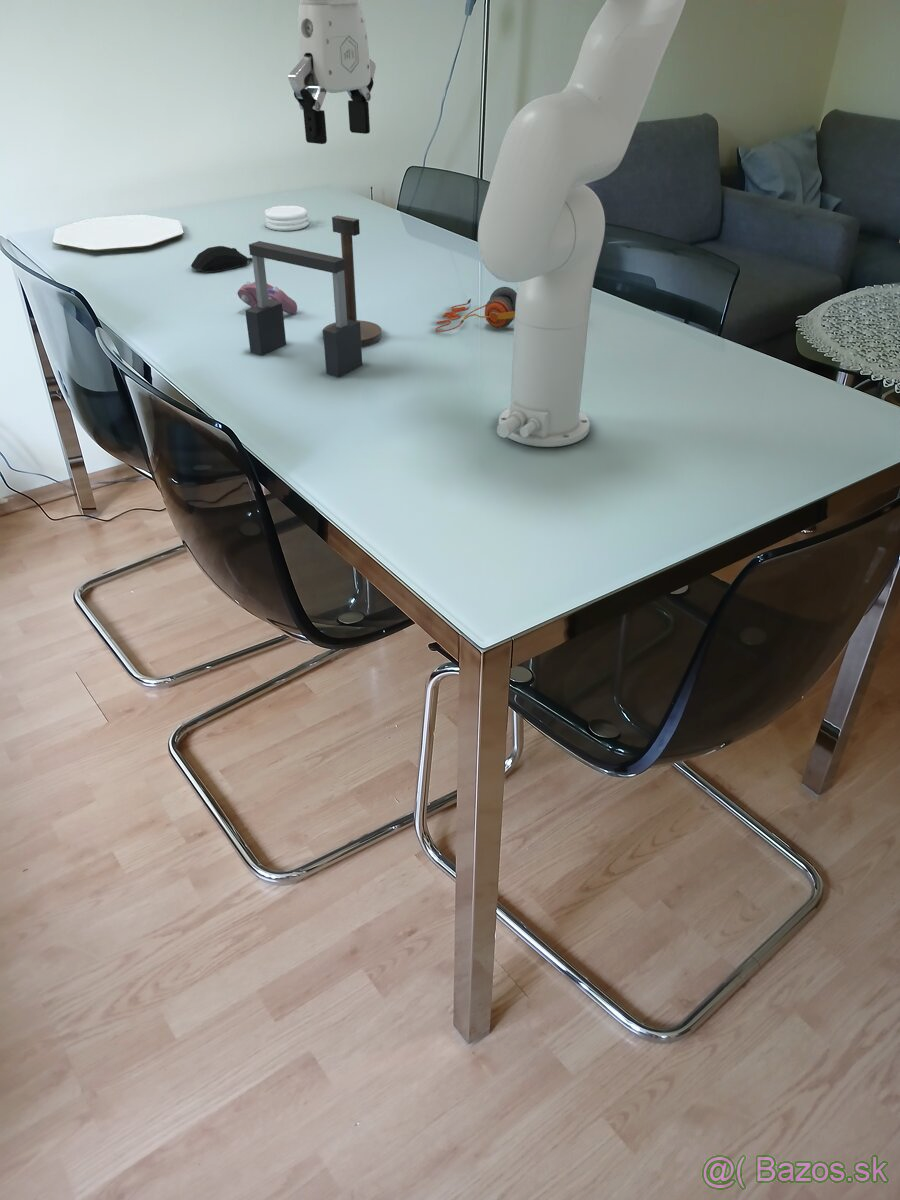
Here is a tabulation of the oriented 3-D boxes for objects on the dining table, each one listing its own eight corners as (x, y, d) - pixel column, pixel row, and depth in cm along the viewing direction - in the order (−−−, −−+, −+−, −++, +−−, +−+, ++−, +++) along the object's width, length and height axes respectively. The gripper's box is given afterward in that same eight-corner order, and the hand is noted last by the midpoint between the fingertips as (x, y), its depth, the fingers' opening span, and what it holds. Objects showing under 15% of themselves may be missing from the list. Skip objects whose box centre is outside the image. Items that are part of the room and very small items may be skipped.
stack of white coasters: (294, 218, 219) (293, 202, 217) (317, 226, 213) (315, 210, 211) (257, 225, 214) (256, 209, 212) (280, 233, 208) (278, 217, 206)
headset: (338, 377, 141) (331, 266, 131) (250, 352, 149) (236, 246, 139) (362, 365, 145) (356, 256, 135) (275, 341, 153) (263, 237, 143)
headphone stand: (357, 352, 149) (350, 229, 138) (310, 339, 154) (300, 220, 142) (393, 334, 156) (389, 216, 145) (347, 323, 160) (340, 207, 149)
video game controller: (245, 318, 167) (229, 288, 161) (257, 300, 168) (242, 270, 162) (289, 327, 163) (274, 297, 157) (301, 309, 165) (287, 278, 159)
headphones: (433, 348, 158) (547, 330, 152) (426, 318, 155) (541, 299, 149) (452, 316, 171) (557, 299, 165) (446, 288, 168) (553, 270, 162)
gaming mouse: (266, 263, 189) (264, 243, 187) (200, 275, 182) (196, 255, 180) (252, 256, 193) (250, 236, 191) (187, 268, 186) (183, 247, 184)
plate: (57, 226, 212) (55, 219, 211) (178, 218, 218) (177, 211, 218) (52, 259, 191) (51, 252, 190) (187, 249, 197) (186, 241, 196)
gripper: (307, -7, 110) (320, 149, 119) (390, -12, 121) (396, 131, 131) (260, -8, 113) (277, 145, 123) (346, -12, 125) (355, 127, 135)
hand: (338, 137), depth 127 cm, fingers open, 9 cm apart
